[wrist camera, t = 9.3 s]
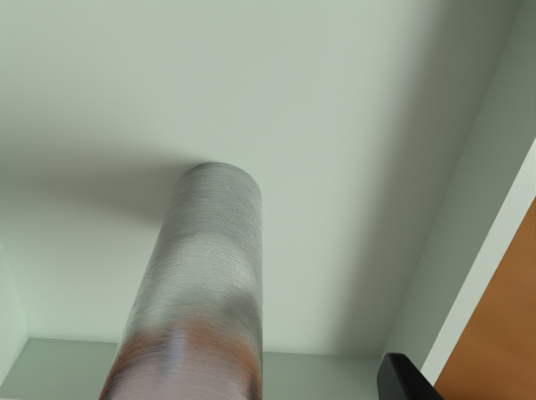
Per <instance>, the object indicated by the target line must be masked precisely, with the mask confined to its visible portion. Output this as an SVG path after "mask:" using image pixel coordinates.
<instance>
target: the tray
mask: <svg viewBox="0 0 536 400" xmlns="http://www.w3.org/2000/svg"><path fill="white" fill-rule="evenodd" d="M211 162H221V163H227V164H231V165H234V166H236V167H239V168H240V169H242V170H244V171H245V172H247V173H248V174H249V175H250V176H251V177H252V178H253V179H254V180H255V181H256V183H257V185H258V186H259V189H260V191H261V194H262V239H263V400H379V396H378V389H377V373H378V371H379V368H380V366H381V363H382V361H383V358H384V356H385V354H386V353H388V352H394V353H403V354H405V355H406V356H407V357H408V358H409V359H410V360H411V361H412V363H413V364H414V365H415V366H416V367H417V368H418V370H419V371H420V372H421V373H422V374H423V375H424V377H425V378H426V379H427V380H428V381H429V382H430V384H431V385H432V386H434V384H435V382H436V380H437V378H438V376H439V374H440V373H441V371H442V369H443V367H444V365H445V363H446V361H447V359H448V358H449V356H450V354H451V352H452V350H453V348H454V346H455V345H456V343H457V341H458V339H459V337H460V335H461V333H462V332H463V330H464V328H465V326H466V324H467V322H468V320H469V318H470V317H471V315H472V313H473V311H474V309H475V307H476V305H477V304H478V302H479V300H480V298H481V296H482V294H483V292H484V291H485V289H486V287H487V285H488V283H489V281H490V279H491V278H492V276H493V274H494V272H495V270H496V268H497V266H498V264H499V263H500V261H501V259H502V257H503V255H504V253H505V251H506V250H507V248H508V246H509V244H510V242H511V240H512V238H513V237H514V235H515V233H516V231H517V229H518V227H519V225H520V223H521V222H522V220H523V218H524V216H525V214H526V212H527V210H528V209H529V207H530V205H531V203H532V201H533V199H534V197H535V196H536V0H0V400H98V399H99V396H100V394H101V391H102V388H103V385H104V383H105V380H106V377H107V374H108V372H109V369H110V366H111V363H112V361H113V358H114V355H115V352H116V350H117V347H118V344H119V341H120V339H121V336H122V333H123V330H124V328H125V325H126V322H127V319H128V317H129V314H130V311H131V309H132V306H133V303H134V300H135V298H136V295H137V292H138V289H139V287H140V284H141V281H142V278H143V276H144V273H145V270H146V267H147V265H148V262H149V259H150V256H151V254H152V251H153V248H154V245H155V243H156V240H157V237H158V234H159V232H160V229H161V226H162V223H163V221H164V218H165V215H166V212H167V210H168V207H169V204H170V201H171V199H172V196H173V193H174V190H175V188H176V185H177V183H178V181H179V180H180V178H181V177H182V176H183V175H184V174H185V173H186V172H187V171H189V170H190V169H192V168H194V167H196V166H198V165H201V164H205V163H211Z"/></svg>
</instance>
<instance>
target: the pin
mask: <svg viewBox="0 0 536 400" xmlns="http://www.w3.org/2000/svg"><path fill="white" fill-rule="evenodd" d="M98 400H263V239H262V194H261V191H260V189H259V186H258V185H257V183H256V181H255V180H254V179H253V178H252V177H251V176H250V175H249V174H248V173H247V172H245V171H244V170H242V169H240V168H239V167H236V166H234V165H231V164H227V163H221V162H211V163H205V164H201V165H198V166H196V167H194V168H192V169H190V170H189V171H187V172H186V173H185V174H184V175H183V176H182V177H181V178H180V180H179V181H178V183H177V185H176V188H175V190H174V193H173V196H172V199H171V201H170V204H169V207H168V210H167V212H166V215H165V218H164V221H163V223H162V226H161V229H160V232H159V234H158V237H157V240H156V243H155V245H154V248H153V251H152V254H151V256H150V259H149V262H148V265H147V267H146V270H145V273H144V276H143V278H142V281H141V284H140V287H139V289H138V292H137V295H136V298H135V300H134V303H133V306H132V309H131V311H130V314H129V317H128V319H127V322H126V325H125V328H124V330H123V333H122V336H121V339H120V341H119V344H118V347H117V350H116V352H115V355H114V358H113V361H112V363H111V366H110V369H109V372H108V374H107V377H106V380H105V383H104V385H103V388H102V391H101V394H100V396H99V399H98Z"/></svg>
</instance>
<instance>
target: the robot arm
mask: <svg viewBox="0 0 536 400" xmlns="http://www.w3.org/2000/svg"><path fill="white" fill-rule="evenodd" d="M377 389H378V396H379V400H444V399H443V398H442V396H441V395H440V394H439V393H438V392H437V391H436V389H435V388H434V387H433V386H432V385H431V384H430V382H429V381H428V380H427V379H426V378H425V377H424V375H423V374H422V373H421V372H420V371H419V370H418V368H417V367H416V366H415V365H414V364H413V363H412V361H411V360H410V359H409V358H408V357H407V356H406V355H405V354H403V353H394V352H388V353H386V354H385V356H384V358H383V361H382V363H381V366H380V368H379V371H378V373H377Z"/></svg>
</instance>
